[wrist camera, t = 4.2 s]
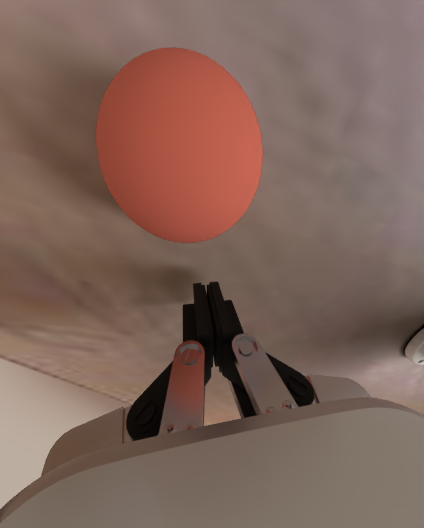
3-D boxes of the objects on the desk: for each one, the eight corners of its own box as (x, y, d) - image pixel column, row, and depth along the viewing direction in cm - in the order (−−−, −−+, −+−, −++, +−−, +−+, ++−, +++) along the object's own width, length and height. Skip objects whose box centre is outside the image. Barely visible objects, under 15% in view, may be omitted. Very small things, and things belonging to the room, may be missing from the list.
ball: (317, 213, 4) (246, 232, 10) (280, -59, 3) (226, 129, 9) (85, 264, 4) (150, 253, 9) (-14, -41, 3) (120, 146, 8)
